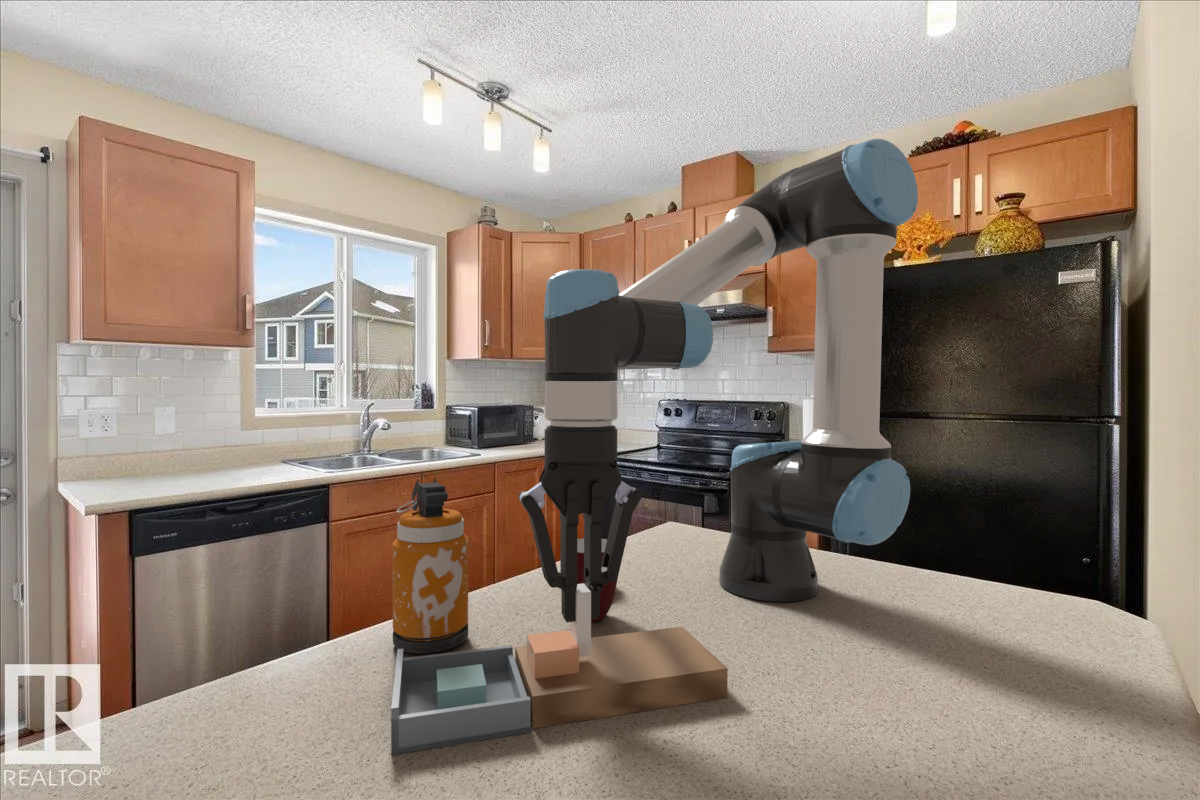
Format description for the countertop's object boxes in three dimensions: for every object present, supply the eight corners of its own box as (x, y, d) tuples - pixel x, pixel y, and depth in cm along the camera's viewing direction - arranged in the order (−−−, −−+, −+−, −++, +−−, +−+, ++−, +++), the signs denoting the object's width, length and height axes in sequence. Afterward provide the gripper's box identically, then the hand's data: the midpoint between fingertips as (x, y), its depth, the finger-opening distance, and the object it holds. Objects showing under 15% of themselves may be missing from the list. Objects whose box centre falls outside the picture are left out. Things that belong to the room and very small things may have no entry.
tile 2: (568, 653, 63) (568, 630, 63) (579, 672, 59) (579, 647, 59) (526, 658, 62) (527, 634, 62) (534, 678, 58) (534, 653, 58)
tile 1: (436, 669, 60) (436, 694, 60) (437, 691, 55) (437, 718, 55) (482, 664, 61) (482, 688, 61) (486, 685, 57) (486, 710, 57)
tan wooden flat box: (682, 651, 71) (682, 626, 71) (727, 697, 60) (727, 668, 60) (515, 673, 65) (515, 646, 65) (532, 728, 55) (532, 696, 54)
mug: (624, 636, 75) (624, 558, 75) (560, 638, 74) (561, 559, 74) (617, 606, 86) (617, 537, 85) (561, 607, 85) (561, 538, 85)
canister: (399, 665, 67) (398, 489, 67) (385, 629, 77) (385, 476, 77) (476, 649, 71) (476, 483, 71) (454, 617, 81) (454, 472, 81)
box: (511, 671, 65) (511, 636, 65) (530, 732, 54) (530, 688, 54) (397, 687, 62) (397, 649, 62) (391, 754, 51) (391, 708, 50)
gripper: (628, 420, 66) (627, 629, 67) (512, 422, 63) (512, 643, 63) (653, 424, 59) (652, 658, 60) (524, 426, 56) (524, 675, 56)
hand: (580, 650), depth 61 cm, fingers closed
